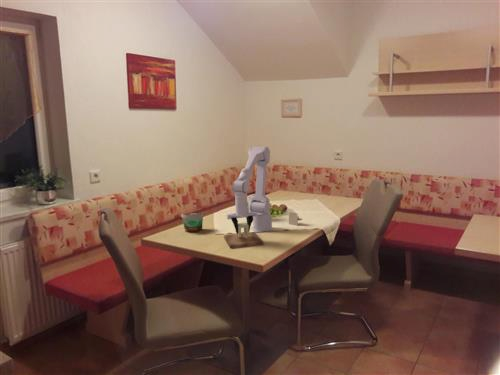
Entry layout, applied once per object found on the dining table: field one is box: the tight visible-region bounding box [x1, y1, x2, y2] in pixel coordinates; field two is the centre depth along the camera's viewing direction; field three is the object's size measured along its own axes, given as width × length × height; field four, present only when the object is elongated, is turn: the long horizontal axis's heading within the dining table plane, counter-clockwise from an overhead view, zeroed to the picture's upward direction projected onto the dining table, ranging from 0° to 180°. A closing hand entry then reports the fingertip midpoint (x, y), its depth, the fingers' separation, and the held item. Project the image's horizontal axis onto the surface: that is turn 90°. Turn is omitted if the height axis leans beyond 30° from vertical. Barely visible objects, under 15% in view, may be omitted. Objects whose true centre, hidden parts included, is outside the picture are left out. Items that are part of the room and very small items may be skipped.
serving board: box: [223, 231, 264, 249], centre depth 204 cm, size 16×16×2 cm
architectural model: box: [288, 211, 303, 227], centre depth 228 cm, size 3×7×7 cm, turn 50°
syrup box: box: [247, 193, 262, 212], centre depth 239 cm, size 6×6×14 cm
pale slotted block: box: [235, 221, 250, 237], centre depth 203 cm, size 5×5×6 cm
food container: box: [180, 211, 205, 234], centre depth 222 cm, size 12×6×10 cm, turn 105°
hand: (242, 231), depth 203 cm, fingers closed on pale slotted block, 5 cm apart
